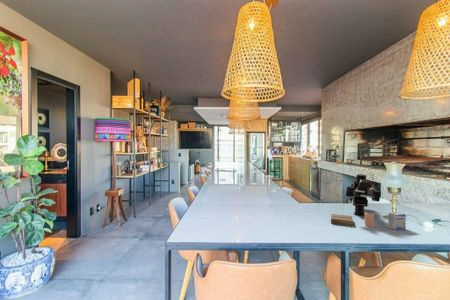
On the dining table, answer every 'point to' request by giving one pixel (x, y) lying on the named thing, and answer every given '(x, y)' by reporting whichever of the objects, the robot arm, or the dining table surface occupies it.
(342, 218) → the walnut base
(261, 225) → the dining table surface
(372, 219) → the terracotta block
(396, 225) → the medicine box
